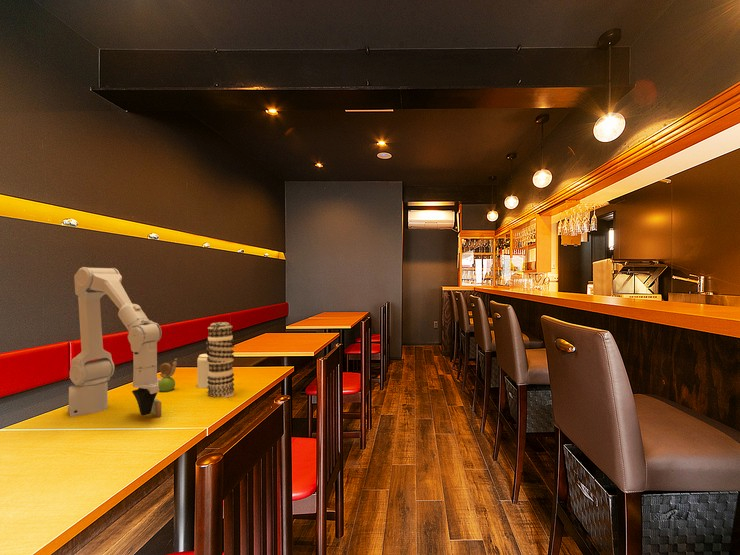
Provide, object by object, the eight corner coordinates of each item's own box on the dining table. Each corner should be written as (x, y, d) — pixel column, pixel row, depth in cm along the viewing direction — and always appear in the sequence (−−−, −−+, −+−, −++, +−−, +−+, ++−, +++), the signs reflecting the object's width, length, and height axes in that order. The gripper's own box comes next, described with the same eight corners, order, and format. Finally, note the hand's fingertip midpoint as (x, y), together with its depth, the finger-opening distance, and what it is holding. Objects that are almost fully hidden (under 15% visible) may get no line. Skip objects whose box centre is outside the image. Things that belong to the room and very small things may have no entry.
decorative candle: (210, 401, 118) (210, 325, 118) (203, 395, 125) (202, 322, 125) (239, 395, 123) (238, 322, 124) (229, 389, 130) (229, 320, 131)
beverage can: (192, 389, 132) (192, 356, 132) (208, 383, 140) (208, 352, 140) (210, 390, 130) (210, 357, 130) (225, 384, 138) (225, 353, 138)
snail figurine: (172, 394, 126) (172, 360, 126) (154, 394, 126) (154, 360, 127) (181, 389, 132) (180, 356, 132) (163, 389, 132) (163, 357, 132)
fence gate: (149, 410, 108) (149, 396, 108) (154, 409, 109) (154, 395, 109) (156, 417, 102) (156, 403, 102) (162, 416, 103) (161, 402, 103)
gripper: (170, 367, 101) (171, 415, 101) (151, 360, 110) (151, 405, 110) (142, 372, 96) (142, 423, 95) (124, 364, 105) (125, 411, 105)
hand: (145, 414), depth 102 cm, fingers closed
